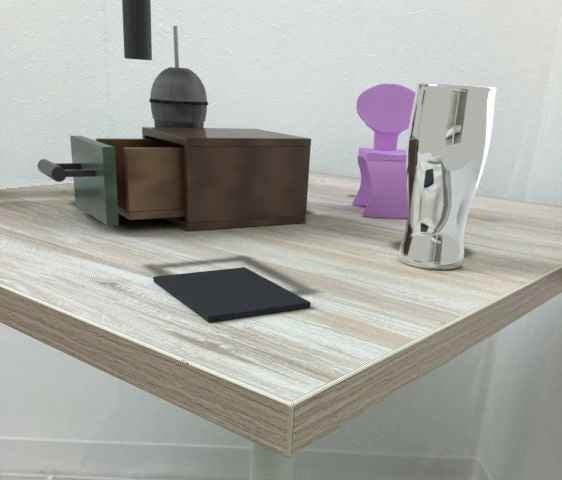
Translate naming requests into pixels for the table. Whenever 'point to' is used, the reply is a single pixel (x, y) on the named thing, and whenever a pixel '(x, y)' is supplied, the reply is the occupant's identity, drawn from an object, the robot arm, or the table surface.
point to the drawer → (124, 177)
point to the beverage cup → (178, 96)
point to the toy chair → (384, 151)
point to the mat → (229, 293)
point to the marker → (137, 29)
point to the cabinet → (240, 176)
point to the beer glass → (444, 170)
